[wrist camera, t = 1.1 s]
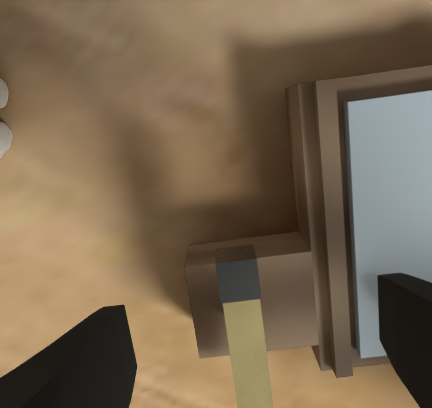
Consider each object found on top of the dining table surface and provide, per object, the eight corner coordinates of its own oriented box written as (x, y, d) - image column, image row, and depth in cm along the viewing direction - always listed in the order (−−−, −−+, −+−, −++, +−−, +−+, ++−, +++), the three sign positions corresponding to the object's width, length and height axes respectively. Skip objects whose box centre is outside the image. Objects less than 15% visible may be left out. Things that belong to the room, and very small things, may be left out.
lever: (268, 379, 19) (279, 441, 15) (236, 382, 19) (241, 445, 15) (250, 227, 17) (258, 258, 13) (215, 231, 17) (213, 264, 13)
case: (481, 316, 21) (532, 356, 18) (206, 347, 22) (203, 392, 19) (491, 59, 18) (557, 46, 15) (166, 105, 19) (154, 104, 15)
